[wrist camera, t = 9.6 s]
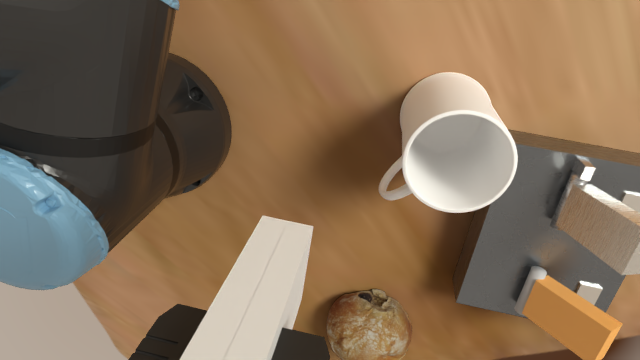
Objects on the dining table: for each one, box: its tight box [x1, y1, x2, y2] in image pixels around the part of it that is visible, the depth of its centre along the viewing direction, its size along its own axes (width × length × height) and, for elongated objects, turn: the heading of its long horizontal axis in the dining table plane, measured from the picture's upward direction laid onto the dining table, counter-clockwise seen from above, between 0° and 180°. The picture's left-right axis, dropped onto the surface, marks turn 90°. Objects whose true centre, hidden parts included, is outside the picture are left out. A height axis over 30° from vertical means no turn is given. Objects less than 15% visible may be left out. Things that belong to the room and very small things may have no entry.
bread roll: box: [327, 289, 412, 360], centre depth 53 cm, size 10×10×8 cm
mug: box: [379, 72, 518, 213], centre depth 39 cm, size 12×8×12 cm
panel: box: [452, 130, 640, 318], centre depth 41 cm, size 14×18×12 cm
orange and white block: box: [514, 266, 622, 360], centre depth 41 cm, size 2×5×8 cm
